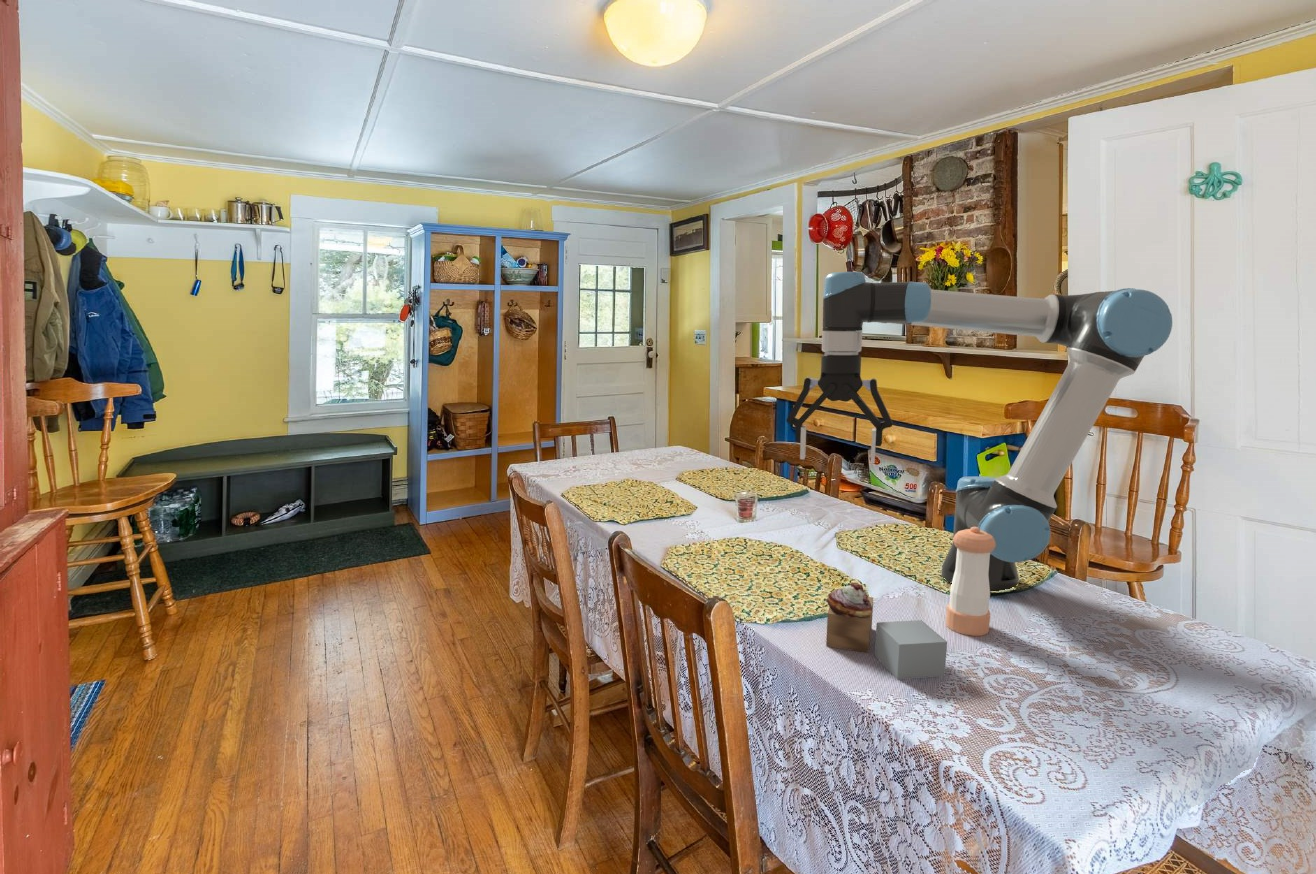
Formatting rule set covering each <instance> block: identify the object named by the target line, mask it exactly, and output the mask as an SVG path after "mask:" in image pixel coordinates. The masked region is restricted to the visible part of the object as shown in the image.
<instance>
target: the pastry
mask: <svg viewBox="0 0 1316 874" xmlns="http://www.w3.org/2000/svg"><path fill="white" fill-rule="evenodd" d="M868 597H870V596H869V595H867V593H866V590H865V589H864V587H863V584H859V583H858V582H850V584H849V585H846V586H844V587H843V588H838V589H834V590H833V591H832V592H830V593H828V594H827V598H826V602H827V604H828V606H829V607H830V608H831V609H832V610H833V611H835V612H836V613H838V614H840V615H841V616H846V617H853V618H864V617H868V616H869V615H871V613H872V610H874V608H873V609H872V606H871V604H870V601H869V600H868ZM829 607H828V608H829Z"/></svg>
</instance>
